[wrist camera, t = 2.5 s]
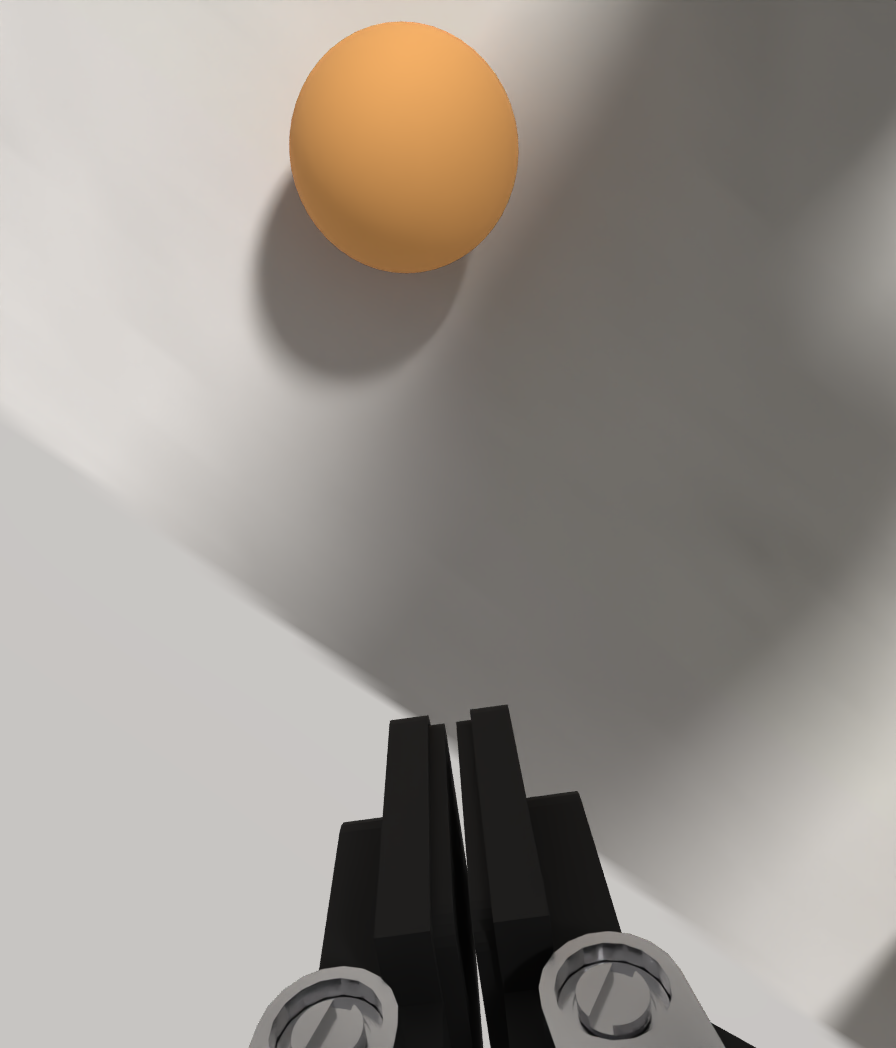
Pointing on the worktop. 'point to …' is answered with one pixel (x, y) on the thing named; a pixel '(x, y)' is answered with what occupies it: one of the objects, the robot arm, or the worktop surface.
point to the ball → (403, 147)
